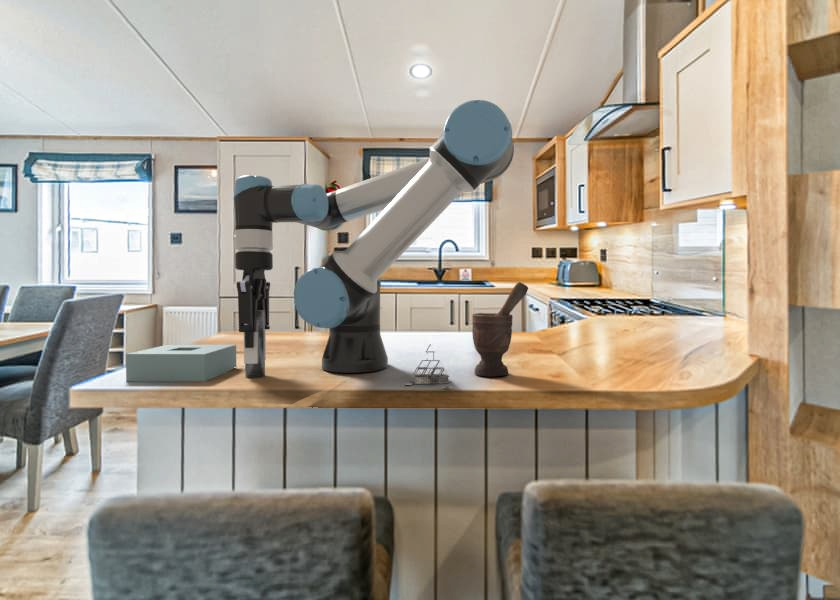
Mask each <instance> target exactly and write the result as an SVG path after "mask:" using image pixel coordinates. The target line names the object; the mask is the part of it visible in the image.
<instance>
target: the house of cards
mask: <svg viewBox="0 0 840 600" xmlns="http://www.w3.org/2000/svg"><path fill="white" fill-rule="evenodd" d="M430 347H431V348H433V347H432V344H430V343H429V345H428V346H427V348H426V351H425V352H426V353H433V355H432V356H433V359H422V360H421V361H420V363H419V365H418V366H417V367H416V368H415V370H414V371H413V373H412V374H411V375H412V378H411V380H412V381H411V383H410V382H406V383H405V386H412V385H413V384H414V385H417V384H419V385H421V384H428V385H430V384H435V385H437V384H449V378H450V376H449V374H448V373H447V371H446V369H445V368H444V366H438V365H439V363H440V364H442V363H441V360H439V359H435V353H436V351H435V350H433V351H428V350H429V348H430ZM423 362H428V363H427V365H425V366H421V364H422V363H423ZM432 362H436V364H435V365H434V366H433V367H429V366H430V363H432ZM420 366H421V367H420ZM428 369H429V371H428ZM420 370H422V373H421V372H419V371H420ZM437 370H440V371H439V373H435V372H436V371H437ZM427 371H428V372H427ZM418 372H419V373H420V374H419V373H418ZM444 372H445V373H444ZM443 388H444V389H452V386H445V385H444V386H442V389H443Z"/></svg>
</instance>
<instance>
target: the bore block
mask: <svg viewBox="0 0 840 600" xmlns="http://www.w3.org/2000/svg"><path fill="white" fill-rule="evenodd" d="M234 367H236V368H237V344H165V345H161V346H155V347H152V348H147V349H142V350H138V351H133V352H129V353H126V354H125V373H126V374H125V376H126V378H125V380H126V381H125V382H207V381H209V380H212V379H214V378H217V377H219V376H222V375H223V374H227V373H228V371H229V370H231V369H233V368H234ZM233 370H234V369H233ZM231 371H232V370H231ZM229 372H230V371H229Z"/></svg>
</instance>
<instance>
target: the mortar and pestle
mask: <svg viewBox="0 0 840 600" xmlns="http://www.w3.org/2000/svg"><path fill="white" fill-rule="evenodd" d="M528 291H529V287H528V286H527V285H526V284H525V283H523V282H521V281H519V282H517V283H516V284H515V285H514V287H513V288H512V289H511V291H510V293H509V295H508V297H507V299H506V300H505V302H504V304H503V306H502V307H501V309H500V310H499V311H498V312H497V313H496V312H493V313H492V312H489V313H488V312H477V313H473V314H472V316H471V317H472V319H471V320H472V321H471V322H472V323H471V324H472V328H471V329H472V332H471V333H472V340H473V345H474V349H475V351H476V352H477V353H478V354H479V356H480V360H479V363H477V365H476V366H475V368H474V372H473V373H474V375H477V376H480V377H489V378H490V377H491V378H492V377H502V376H509V369H508V366H506V364H504V362H503V360H502V359H503V355H504V354H506V353H507V352H508V351H509V348H510V345H511V341H512V336H513V335H512V334H513V329H512V328H513V315H512V314H511V313H512V311H513V310H514V309H515V307H516V306H517V305H518V304H519V303H520V302H521V300H523V298H524V297H525V296H526V294H527V293H528Z"/></svg>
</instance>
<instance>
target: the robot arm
mask: <svg viewBox="0 0 840 600" xmlns="http://www.w3.org/2000/svg"><path fill="white" fill-rule="evenodd" d="M444 123H445V124H444V128H443V133H442V134H441V135H440V136H439V137H438V138H437V139H436V141H434V143H433V144H432V145H431V146H430V147H429V158H425V159H423V160H420V161H417V162H414V163H411V164H408V165H405V166H403V167H402V166H401V167H399V168H397V169H394V170H390V171H388V172H385V173H381V174H380V175H379V174H378V175H376V176H373V177H371V178H368V179H365V180H364V179H363V180H362V181H359V182H356V183H353V184H350V185H347V186H344V187H342V188H338V189H336V190H333V191H330V192H326V191H325V188H324V186H322V185H320V184H316V183H315V184H313V183H312V184H309V183H301V184H290V185H273V182H272V180H271V179H270V178H268V177H265V176H261V175H249V174H248V175H241V176H238V177H237V178H236V180H235V182H234V195H233V201H234V202H233V203H234V219H235V220H234V224H235V226H234V235H233V236H232V238H233V240H234V242H235V243H234V247H235V250H237V251H236V252H235V254H234V260H235V261H234V264H235V266H234V268H235V269H236V270H238V271H243V272H242V280H240V281H236V289H237V303H238V304H237V307H238V308H237V309H238V313H237V314H238V333H243V363H244V365H245V364H257V363H258V332H256V321H257V310H264V311H265V330H270V329H271V326H270V288H271V282H270V281H267V279H266V275H265V271H271V270H273V263H274V262H273V259H274V258H273V254H272V252H271V251H272V250H273V248H274V246H273V245H274V244H273V243H274V242H273V223H275V224H276V223H298V224H300V225H301V224H302V225H304V226H308V227H312V228H316V229H318V230H320V231H325V232H327V231H335V230H338V229H339V228H341V227H342V226H343V225H344V224H345V223H347V222H351V221H353V220H356V219H360V218H363V217H367V216H368V215H369V216H370V215H372V214H375V213H378V212H380V213H379V214H378V215H377V216H376V217H375V218H374V219H373V221H371V223H369V225H368V226H367V227H366V228H365V229H364V230H363V231H362V232H361V233H360V234H359V235H358V237H357V238H356V239H355V240H354V241H353V242H352V243H351V244H350V245H349V246H348V247H347V249H346V250H335V251H334V252H332V253H331V254H330V255H329V256H328V258H326V260H324V261H323V263H322V264H321V265H320V266H319V267H314V268H311V269H309V270H307V271H305V272H304V273H303V274H301V276H300V277H299V278H298V279H297V281H296V283H295V286H294V289H293V303H294V308H295V309H296V312H297V313H298V315H299V316H300V318H301V319H302V320H303V321H304V322H306V324H308V325H309V326H312V327H314V328H318V329H329V334H328V335H329V336H328V339H327V342H326V345H325V349H324V351H323V354H322V358H321V369H322V370H324V371H327V372H334V373H345V374H346V373H369V372H371V373H372V372H378V371H382V370H385V369H387V368H388V367H389V366H388V365H389V364H388V363H389V361H388V360H389V359H388V358H389V357H388V355H387V350H386V348H385V345H384V343H383V338H382V336H381V286H382V284H381V283H382V281H381V277H382V276H383V275H384V274H385V273H386V272H387V271H388V270H389V268H391V266H392V265H393V264H394V263H395V262H396V261H397V260H398V259H399V258H400V257H401V256H402V255H403V254H404V253H405V252H406V251H407V250H408V249H409V248H410V246H412V244H413V243H415V242H416V240H417V239H418V238H419V237H420V236H421V235H422V234H423V233H424V232H425V231H426V230H427V229H428V228H429V227H430V226H431V225H432V224H433V223H434V221H436V219H437V218H439V216H440V215H441V214H442V213H443V212H444V211H445V210H446V209H447V208H448V207H449V206H450V205H451V204H452V203H453V202H454V201H455V200H456V199H457V198H458V197H459V195H460V194H463V193H470V192H471V193H472V192H474V191H475V190H476V189H478V187H479V186H480V185H481V184H485V183H488V182H491V181H494V180H496V179H498V178H499V177H501V176H503V174H504V173H505V172H506V171H507V170H508V169H509V167H510V166H511V163H512V161H513V159H514V153H515V150H514V149H515V148H514V147H515V146H514V141H513V129H512V124H511V123H510V121H509V118H508V117H507V115H506V113H505V112H504V110H502V108H501V107H500V106H499V105H497V104H495V103H493V102H491V101H488V100H484V99H476V100H475V99H473V100H468V101H465V102H463V103H462V104H459V105H458V106H457V107H455V108H454V109H453V110H452V111H451V112H450V114H449V115H448V117H447V119H446V121H445V122H444ZM266 344H267V343H266V334H265V361H267V360H266V359H267V357H266V355H267V354H266V352H267V350H266V346H267V345H266Z"/></svg>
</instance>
